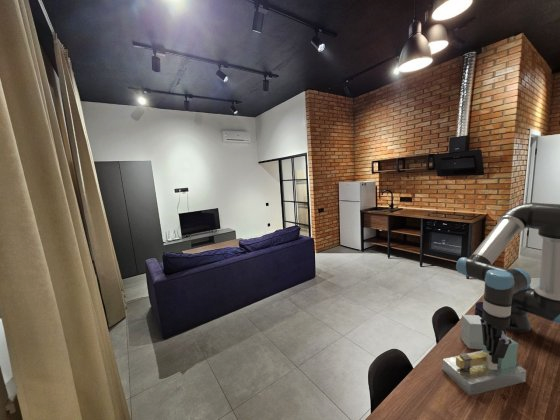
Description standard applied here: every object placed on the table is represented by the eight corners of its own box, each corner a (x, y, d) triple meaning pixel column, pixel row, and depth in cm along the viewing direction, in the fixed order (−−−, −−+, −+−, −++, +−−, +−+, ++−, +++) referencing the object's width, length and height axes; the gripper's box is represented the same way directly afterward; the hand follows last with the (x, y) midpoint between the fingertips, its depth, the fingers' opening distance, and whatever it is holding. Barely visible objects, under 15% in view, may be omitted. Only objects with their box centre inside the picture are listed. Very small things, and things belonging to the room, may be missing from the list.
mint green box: (496, 352, 99) (498, 331, 98) (515, 366, 93) (518, 342, 91) (482, 355, 98) (484, 334, 97) (500, 369, 91) (503, 346, 90)
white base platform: (492, 358, 103) (493, 345, 102) (525, 381, 91) (526, 368, 90) (442, 369, 99) (443, 356, 98) (469, 395, 87) (470, 381, 86)
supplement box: (487, 350, 107) (489, 325, 105) (468, 348, 109) (470, 324, 107) (477, 338, 114) (478, 315, 112) (459, 337, 116) (461, 314, 114)
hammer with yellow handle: (454, 366, 94) (454, 354, 93) (484, 360, 96) (485, 349, 95) (461, 372, 91) (462, 360, 90) (492, 367, 92) (493, 355, 92)
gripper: (522, 323, 80) (516, 383, 84) (495, 302, 93) (491, 355, 96) (497, 322, 81) (492, 381, 85) (473, 301, 94) (470, 354, 98)
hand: (491, 367), depth 91 cm, fingers closed
